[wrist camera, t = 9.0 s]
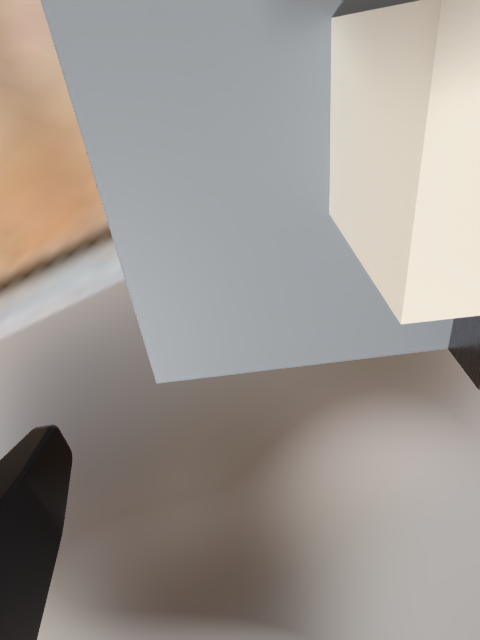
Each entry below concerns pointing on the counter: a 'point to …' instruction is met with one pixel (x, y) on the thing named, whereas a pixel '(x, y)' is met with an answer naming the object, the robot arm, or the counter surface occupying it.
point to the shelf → (228, 184)
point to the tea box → (410, 153)
